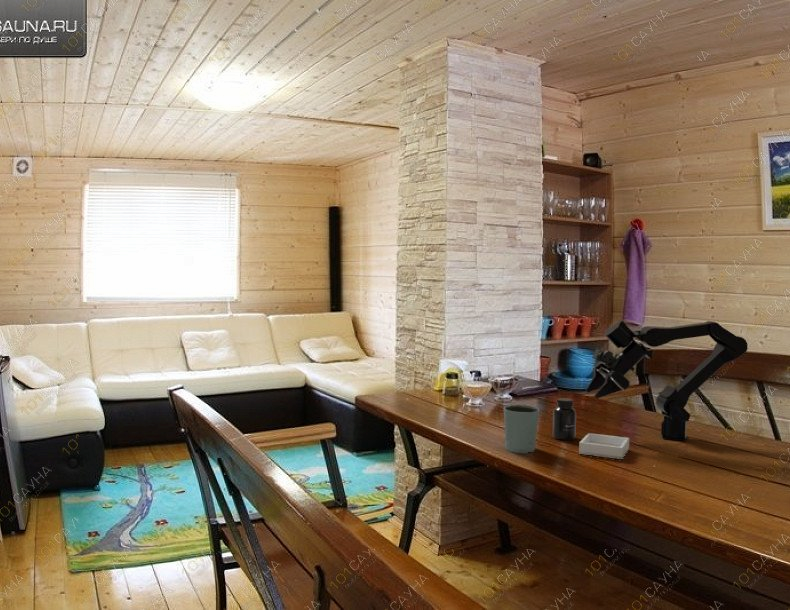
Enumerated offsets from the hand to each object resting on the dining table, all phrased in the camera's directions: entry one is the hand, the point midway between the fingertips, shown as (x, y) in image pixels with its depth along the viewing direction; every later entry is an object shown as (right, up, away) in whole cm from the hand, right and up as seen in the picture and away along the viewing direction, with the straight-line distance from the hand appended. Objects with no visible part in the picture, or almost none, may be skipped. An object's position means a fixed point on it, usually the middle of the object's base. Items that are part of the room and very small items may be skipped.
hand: (591, 394), depth 206 cm
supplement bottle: (-8, -14, +1) cm, 16 cm away
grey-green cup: (-24, -15, -11) cm, 30 cm away
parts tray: (0, -15, -15) cm, 21 cm away
